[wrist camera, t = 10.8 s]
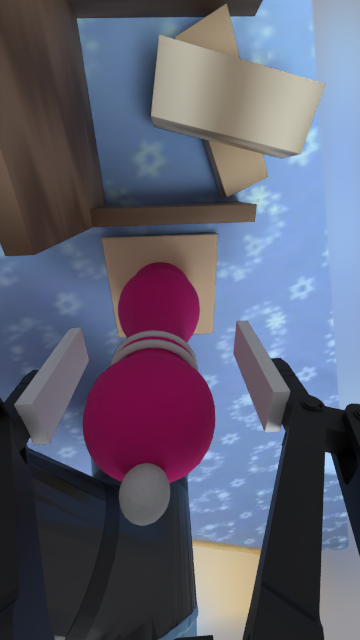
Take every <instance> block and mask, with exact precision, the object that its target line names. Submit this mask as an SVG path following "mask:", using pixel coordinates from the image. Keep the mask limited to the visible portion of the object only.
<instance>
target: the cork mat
mask: <svg viewBox="0 0 360 640" xmlns="http://www.w3.org/2000/svg"><path fill="white" fill-rule="evenodd" d="M101 239H102V245H103V250H104V256H105V262H106V267H107V273H108V279H109V285H110V290H111V296H112V302H113V307H114V313H115V319H116V325H117V330H118V336H119V337H126V335H125V334H124V332H123V330H122V328H121V325H120V321H119V317H118V302H119V298H120V294H121V292H122V290H123V288H124V286H125V285H126V283H127V282H128V281H129V280H130V279H131V278H132V277H133V276H135V275H136V273H137V272H138V271H139V270H140V269H141V268H143V267H144V266H146V265H148V264H151V263H156V262H165V263H169V264H172V265H174V266H176V267H178V268H179V269H180V270H182V271H183V273H184V274H185V275H186V276H187V278H188V280H189V281H190V283H191V284H192V285H193V287H194V288H195V290H196V292H197V294H198V298H199V303H200V315H199V321H198V324H197V326H196V329H195V331H194V333H193V334H204V333H213V326H214V306H215V285H216V264H217V243H218V234H217V233H205V234H175V235H145V236H115V237H103V238H101Z"/></svg>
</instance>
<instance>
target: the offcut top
mask: <svg viewBox="0 0 360 640" xmlns="http://www.w3.org/2000/svg"><path fill="white" fill-rule="evenodd" d="M324 87H325V84H324V83H321V82H317V81H314V80H310V79H307V78H304V77H300V76H297V75H294V74H290V73H287V72H284V71H280V70H277V69H273V68H270V67H267V66H263V65H260V64H257V63H253V62H250V61H247V60H243V59H240V58H236V57H233V56H230V55H226V54H223V53H220V52H216V51H213V50H209V49H206V48H203V47H199V46H196V45H193V44H189V43H186V42H183V41H179V40H176V39H172V38H169V37H166V36H162V35H159V42H158V52H157V62H156V71H155V81H154V91H153V101H152V110H151V118H152V122H153V126H154V127H157V128H161V129H165V130H169V131H173V132H177V133H181V134H185V135H189V136H193V137H197V138H201V139H205V140H209V141H213V142H217V143H221V144H225V145H229V146H233V147H237V148H241V149H245V150H249V151H253V152H257V153H261V154H266V155H270V156H274V157H278V158H286V157H290V156H294V155H298V154H301V151H302V149H303V146H304V143H305V140H306V137H307V135H308V132H309V129H310V126H311V124H312V121H313V118H314V115H315V112H316V110H317V107H318V104H319V101H320V98H321V96H322V93H323V90H324Z"/></svg>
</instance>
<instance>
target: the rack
mask: <svg viewBox="0 0 360 640" xmlns="http://www.w3.org/2000/svg"><path fill="white" fill-rule="evenodd" d="M261 2H262V0H0V243H1V246H2V249H3V251H4V254H5V256H20V255H35V254H37V253H39V252H42V251H44V250H46V249H48V248H50V247H52V246H54V245H56V244H58V243H61V242H63V241H65V240H67V239H69V238H71V237H73V236H75V235H77V234H80V233H82V232H84V231H86V230H88V229H90V228H92V227H108V226H139V225H170V224H201V223H232V222H255V215H256V206H257V204H251V203H244V202H216V203H183V204H150V205H116V206H106V203H105V197H104V190H103V184H102V178H101V171H100V165H99V159H98V152H97V146H96V139H95V133H94V127H93V120H92V114H91V107H90V101H89V95H88V88H87V82H86V76H85V69H84V63H83V56H82V50H81V44H80V37H79V31H78V24H77V18H124V17H207V16H208V15H210V14H211V13H213V12H214V11H216V10H217V9H219V8H220V7H222V6H224V5H225V4H227V7H228V11H229V15H230V16H255V15H256V13H257V10H258V8H259V6H260V4H261Z"/></svg>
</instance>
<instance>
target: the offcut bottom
mask: <svg viewBox="0 0 360 640" xmlns="http://www.w3.org/2000/svg"><path fill="white" fill-rule="evenodd" d="M175 39H176V40H179V41H183V42H186V43H189V44H193V45H196V46H199V47H203V48H206V49H209V50H213V51H216V52H220V53H223V54H226V55H230V56H233V57H236V58H240V57H239V53H238V49H237V44H236V40H235V36H234V32H233V28H232V24H231V19H230V15H229V11H228V7H227V4H225V5H224V6H222V7H220V8H219V9H217V10H216V11H214V12H213V13H211V14H210V15H208V16H207V17H205V18H203V19H202V20H200V21H199V22H197V23H196V24H194V25H193V26H191V27H190V28H188V29H186V30H185V31H183V32H182V33H180V34H179V35H177V36H176V37H175ZM202 142H203V145H204V148H205V151H206V154H207V157H208V160H209V163H210V166H211V169H212V172H213V175H214V178H215V181H216V184H217V187H218V189H219V192H220V195H221V197H229V196H231V195H233V194H235V193H237V192H239V191H241V190H243V189H245V188H247V187H249V186H251V185H253V184H255V183H257V182H259V181H261V180H263V179H265V178H267V177H268V174H267V170H266V165H265V161H264V157H263V154H261V153H257V152H253V151H249V150H245V149H241V148H237V147H233V146H229V145H225V144H221V143H217V142H213V141H209V140H205V139H202Z"/></svg>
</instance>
